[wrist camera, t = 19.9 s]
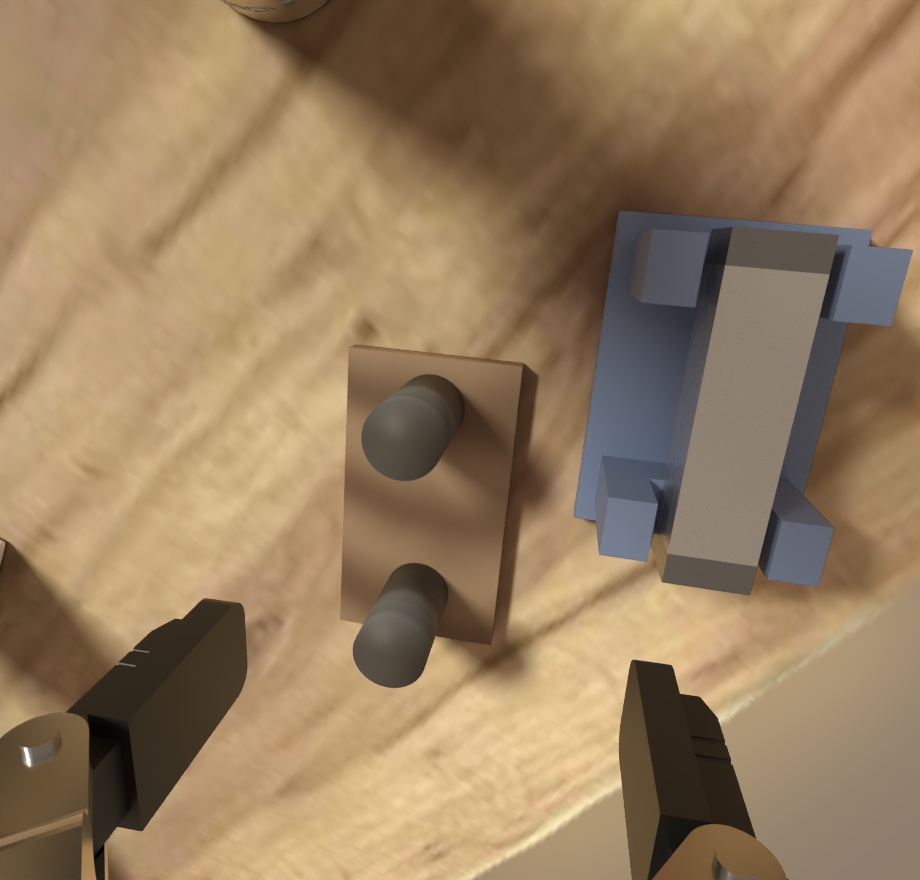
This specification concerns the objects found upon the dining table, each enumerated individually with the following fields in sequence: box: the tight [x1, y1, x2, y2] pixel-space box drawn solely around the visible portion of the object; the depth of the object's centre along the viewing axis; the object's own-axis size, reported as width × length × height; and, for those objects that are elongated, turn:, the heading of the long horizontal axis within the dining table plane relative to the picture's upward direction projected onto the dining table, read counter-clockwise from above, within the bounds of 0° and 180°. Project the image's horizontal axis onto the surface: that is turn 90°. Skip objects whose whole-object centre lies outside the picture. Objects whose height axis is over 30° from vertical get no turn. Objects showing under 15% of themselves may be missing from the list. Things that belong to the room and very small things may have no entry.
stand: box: [340, 345, 524, 688], centre depth 36 cm, size 18×10×8 cm, turn 175°
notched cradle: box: [574, 210, 913, 587], centre depth 32 cm, size 17×12×8 cm
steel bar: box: [651, 226, 839, 595], centre depth 29 cm, size 16×4×4 cm, turn 175°
